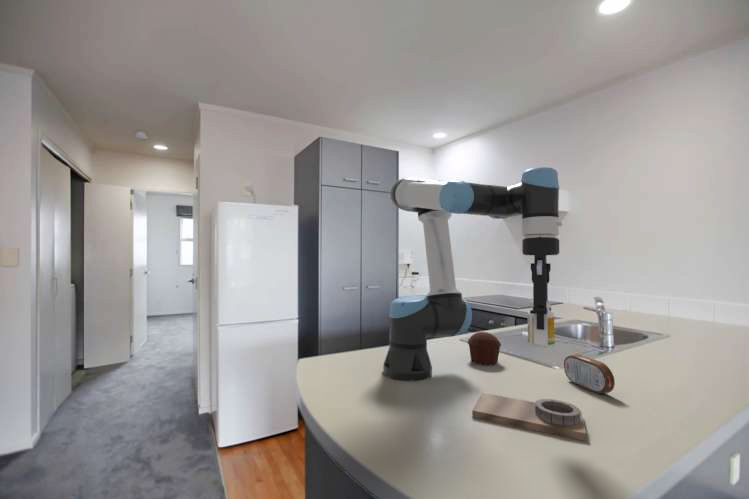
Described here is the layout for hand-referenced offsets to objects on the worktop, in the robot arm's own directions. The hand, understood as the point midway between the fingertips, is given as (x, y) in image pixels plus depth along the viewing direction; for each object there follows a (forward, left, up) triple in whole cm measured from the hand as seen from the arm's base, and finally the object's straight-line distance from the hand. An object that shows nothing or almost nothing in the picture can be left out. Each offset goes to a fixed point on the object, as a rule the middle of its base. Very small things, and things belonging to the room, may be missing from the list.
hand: (541, 341), depth 78 cm
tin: (+11, +30, -18) cm, 36 cm away
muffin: (-19, +42, -18) cm, 49 cm away
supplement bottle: (0, 0, -1) cm, 1 cm away
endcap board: (-3, +1, -17) cm, 18 cm away
